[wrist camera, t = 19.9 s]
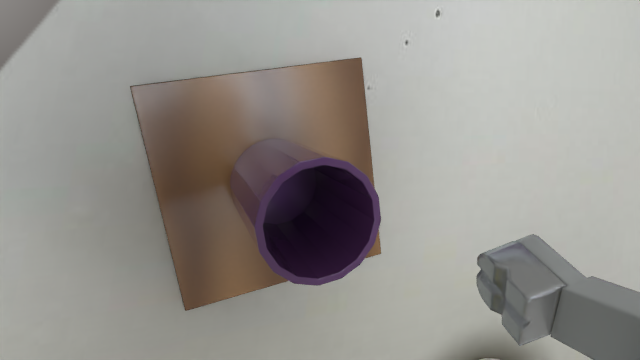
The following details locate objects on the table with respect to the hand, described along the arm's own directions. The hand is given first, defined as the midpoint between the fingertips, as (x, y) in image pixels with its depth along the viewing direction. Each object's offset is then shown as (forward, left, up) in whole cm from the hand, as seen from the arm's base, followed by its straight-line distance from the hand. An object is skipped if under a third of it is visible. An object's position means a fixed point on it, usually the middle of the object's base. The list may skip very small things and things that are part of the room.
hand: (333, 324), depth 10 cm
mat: (+3, -1, -20) cm, 20 cm away
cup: (+3, -1, -19) cm, 20 cm away
